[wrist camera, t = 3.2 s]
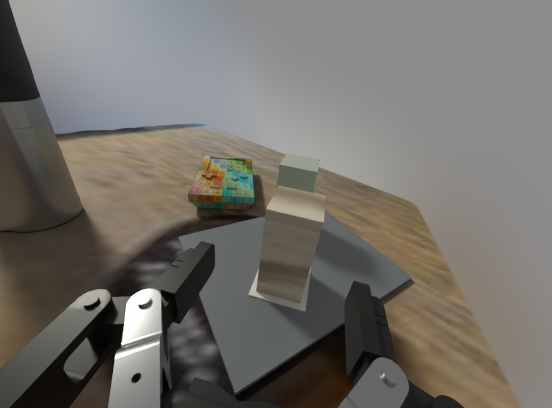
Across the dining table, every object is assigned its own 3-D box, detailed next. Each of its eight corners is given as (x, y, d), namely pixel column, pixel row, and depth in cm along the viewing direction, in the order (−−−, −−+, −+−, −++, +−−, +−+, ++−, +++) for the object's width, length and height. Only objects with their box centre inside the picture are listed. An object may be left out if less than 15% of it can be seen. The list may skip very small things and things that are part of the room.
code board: (235, 395, 19) (235, 391, 19) (178, 239, 34) (178, 235, 34) (410, 280, 33) (412, 276, 33) (315, 206, 48) (316, 202, 48)
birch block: (300, 303, 27) (323, 222, 20) (256, 290, 27) (266, 209, 21) (305, 269, 31) (325, 195, 25) (267, 259, 32) (278, 185, 26)
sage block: (301, 237, 38) (317, 172, 31) (270, 229, 38) (279, 164, 32) (305, 219, 42) (319, 160, 36) (277, 213, 43) (286, 153, 37)
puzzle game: (187, 189, 39) (205, 152, 56) (189, 212, 41) (205, 169, 58) (254, 193, 41) (251, 156, 58) (252, 214, 43) (250, 172, 60)
